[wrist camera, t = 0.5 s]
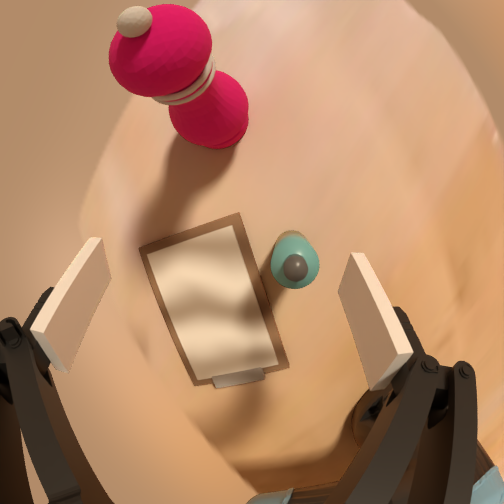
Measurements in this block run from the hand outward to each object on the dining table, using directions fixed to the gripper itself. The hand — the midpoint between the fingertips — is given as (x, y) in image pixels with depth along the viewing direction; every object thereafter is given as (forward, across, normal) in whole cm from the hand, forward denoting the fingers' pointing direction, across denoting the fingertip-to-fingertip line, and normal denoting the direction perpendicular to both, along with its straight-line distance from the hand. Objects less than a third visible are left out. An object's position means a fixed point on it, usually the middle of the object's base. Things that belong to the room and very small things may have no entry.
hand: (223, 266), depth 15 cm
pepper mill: (+20, +2, -4) cm, 20 cm away
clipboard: (+11, +1, +14) cm, 18 cm away
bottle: (+13, -6, +7) cm, 16 cm away
